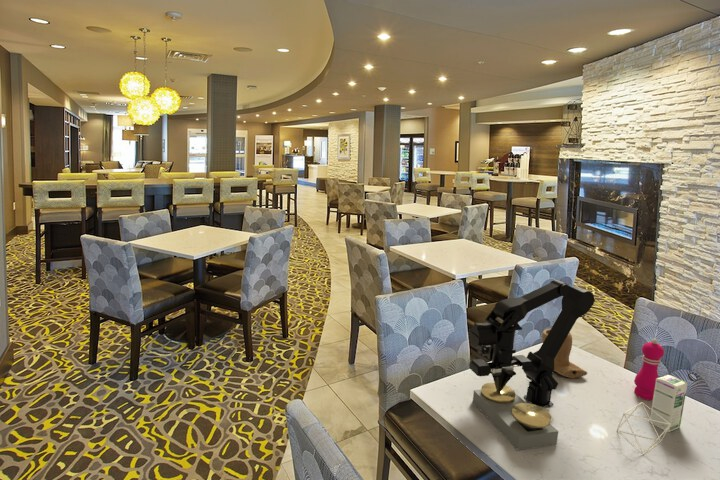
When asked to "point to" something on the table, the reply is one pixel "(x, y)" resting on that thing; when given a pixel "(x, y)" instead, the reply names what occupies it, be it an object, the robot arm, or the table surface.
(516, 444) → the panel
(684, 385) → the syrup box
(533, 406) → the knob
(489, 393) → the knob
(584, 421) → the table surface
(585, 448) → the table surface
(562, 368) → the tan boot
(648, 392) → the pepper mill
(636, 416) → the geometric polyhedron
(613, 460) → the table surface
